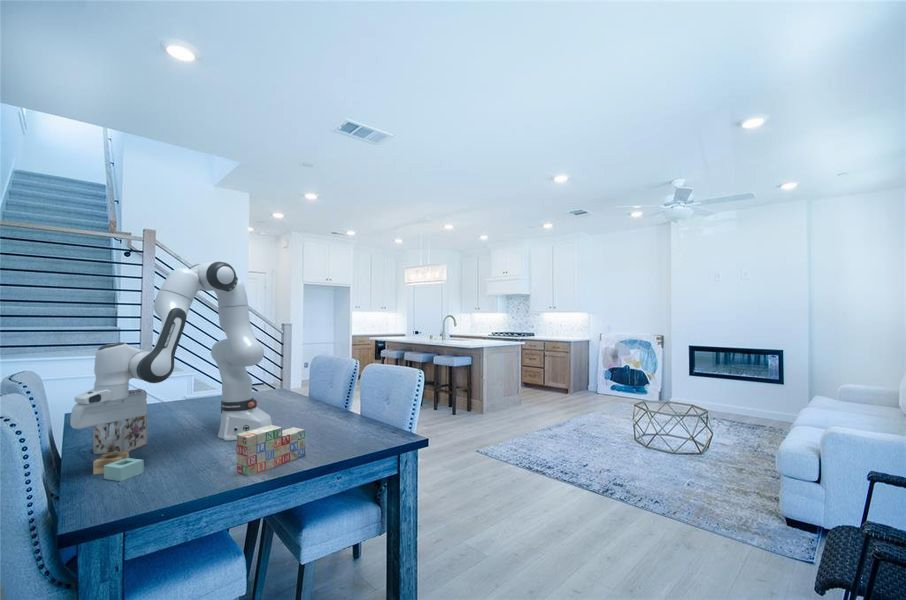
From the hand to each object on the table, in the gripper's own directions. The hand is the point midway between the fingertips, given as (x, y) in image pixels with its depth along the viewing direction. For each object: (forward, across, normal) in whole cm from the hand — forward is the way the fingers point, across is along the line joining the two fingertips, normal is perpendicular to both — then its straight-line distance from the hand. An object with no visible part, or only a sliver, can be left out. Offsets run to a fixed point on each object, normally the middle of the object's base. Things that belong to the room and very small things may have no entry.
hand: (111, 435), depth 139 cm
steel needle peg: (+5, 0, 0) cm, 5 cm away
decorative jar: (+11, -12, -20) cm, 25 cm away
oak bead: (+11, 0, 0) cm, 11 cm away
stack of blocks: (+11, -27, +43) cm, 52 cm away
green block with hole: (+11, +1, +10) cm, 15 cm away
